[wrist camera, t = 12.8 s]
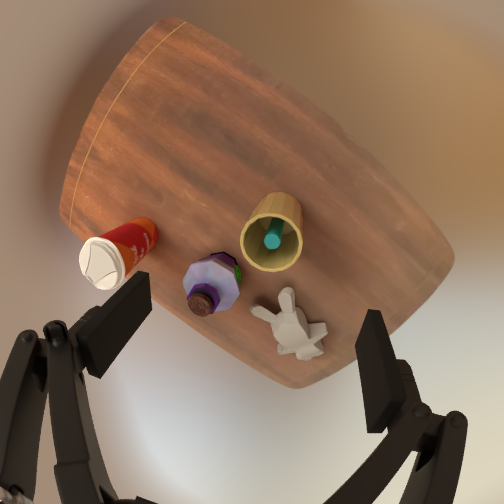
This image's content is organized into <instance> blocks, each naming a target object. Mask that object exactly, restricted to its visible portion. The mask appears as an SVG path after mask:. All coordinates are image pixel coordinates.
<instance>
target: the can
mask: <svg viewBox="0 0 504 504" xmlns="http://www.w3.org/2000/svg"><path fill="white" fill-rule="evenodd" d="M272 217H278V218H281V219H283V220H285V222H284V227H283V232H282V237H281V242H280V245H279V247H278V248H276V249H269V248H267V247H266V245H265V243H264V239H265V236H266V234H267V231H268V228H269V225H270V222H271V220H272ZM302 245H303V213H302V209H301V206H300V204H299V203H298V201H297V200H296V199H295V198H294V197H293V196H291V195H289V194H287V193H283V192H274V193H270V194H268V195H266V196H265V197H264V198H263V199H261V200H260V202H259V203H258V205H257V207H256V208H255V210H254V211H253V213H252V215H251V216H250V218H249V220H248V221H247V223H246V224H245V226H244V228H243V230H242V232H241V236H240V247H241V250H242V253H243V255H244V257H245V258H246V259H247V260H248V262H249V263H250V264H251V265H253V266H255V267H256V268H258V269H260V270H262V271H269V272H276V271H281V270H285V269H287V268H288V267H290V266H291V265H293V264H294V263H295V262H296V260H297V259H298V257H299V256H300V254H301V251H302Z"/></svg>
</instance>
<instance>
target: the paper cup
mask: <svg viewBox="0 0 504 504" xmlns="http://www.w3.org/2000/svg"><path fill="white" fill-rule="evenodd" d="M157 241H158V230H157V227H156V226H155V224H154V223H153V222H152V221H151V220H149V219H147V218H138V219H135V220H133V221H131V222H128V223H126V224H124V225H122V226H120V227H118V228H116V229H114V230H112V231H109V232H107V233H105V234H103V235H101V236H99V237H93V238H90V239H89V240H87V241H86V242H85V244H84V246H83V248H82V249H81V252H80V256H79V264H80V268H81V271H82V273H83V275H86V277H87V279H88V280H89V281H90V282H91V283H93V284H94V285H95V287H96V288H98V289H102V290H108V289H114V288H117V287H118V286H120V285H121V284H122V282H123V280H124V278H125V276H126V275H127V274H128V273H129V272H130V271H131V270H132V269H133V268H134V267H135V266H136V265H137V264H138V263H139V262H140V261H141V259H142V258H143V257H144V256H145V255H146V254H147V253H148V252H149V251H150V250H151V249H152V248H153V247H154V246H155V244H156V243H157Z"/></svg>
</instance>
